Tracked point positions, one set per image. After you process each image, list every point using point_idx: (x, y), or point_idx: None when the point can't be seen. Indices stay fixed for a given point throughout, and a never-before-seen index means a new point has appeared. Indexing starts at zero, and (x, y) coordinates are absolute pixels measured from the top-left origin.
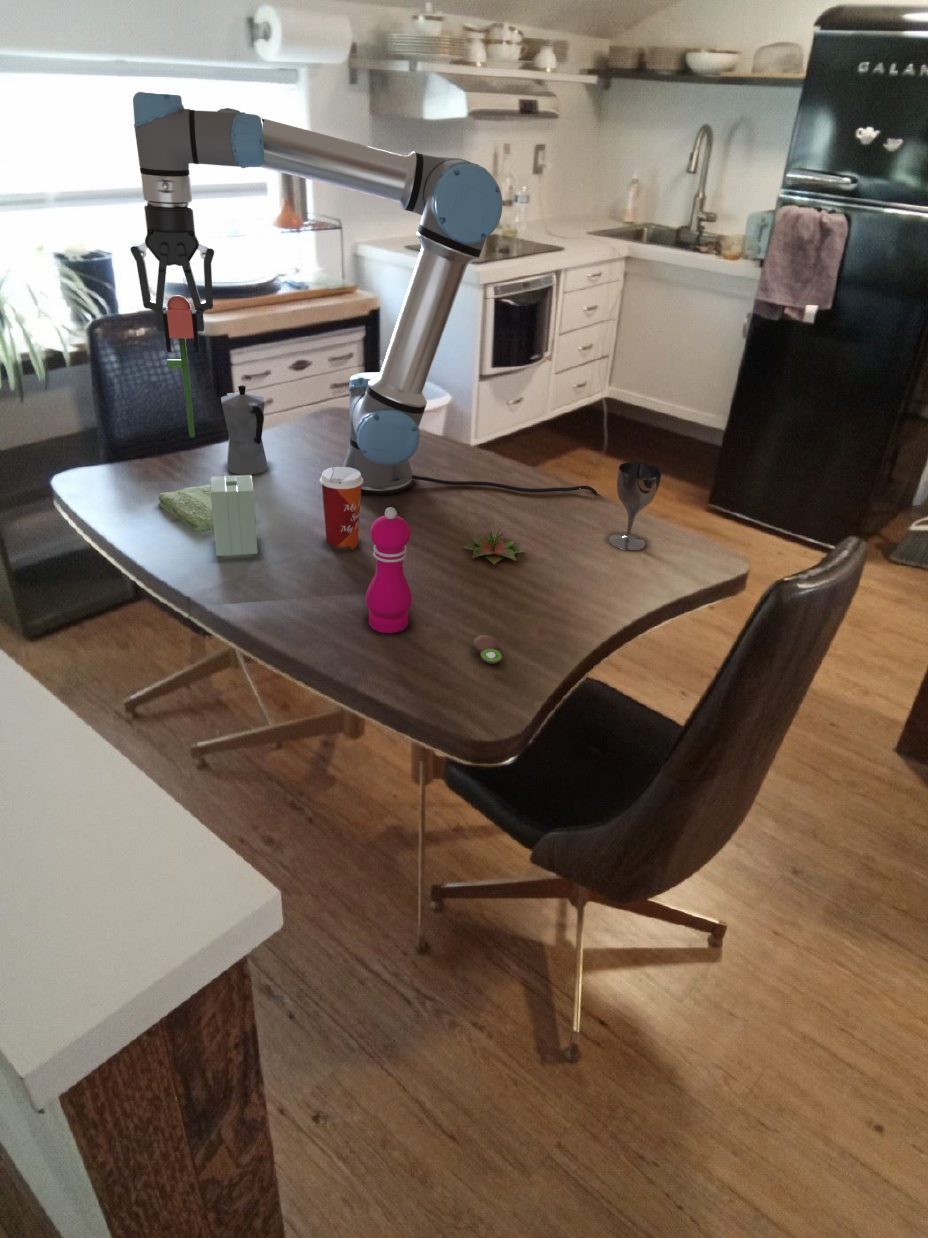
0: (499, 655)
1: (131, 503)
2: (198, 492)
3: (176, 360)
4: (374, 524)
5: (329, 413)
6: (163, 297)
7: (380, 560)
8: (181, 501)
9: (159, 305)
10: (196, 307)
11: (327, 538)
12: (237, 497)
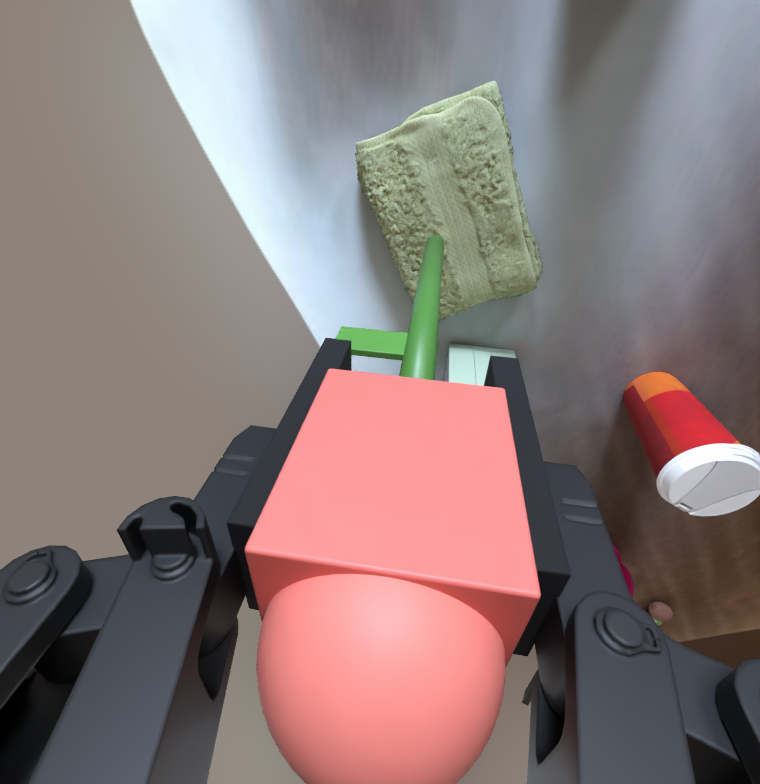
0: (658, 624)
1: (299, 122)
2: (443, 171)
3: (379, 356)
4: None
5: None
6: (206, 780)
7: None
8: (401, 220)
9: (199, 671)
10: (549, 717)
11: (626, 405)
12: None
